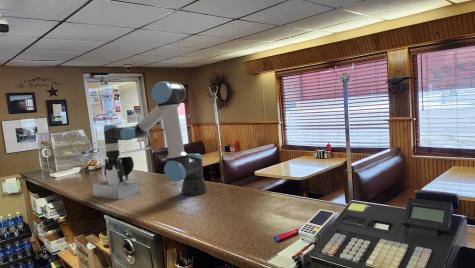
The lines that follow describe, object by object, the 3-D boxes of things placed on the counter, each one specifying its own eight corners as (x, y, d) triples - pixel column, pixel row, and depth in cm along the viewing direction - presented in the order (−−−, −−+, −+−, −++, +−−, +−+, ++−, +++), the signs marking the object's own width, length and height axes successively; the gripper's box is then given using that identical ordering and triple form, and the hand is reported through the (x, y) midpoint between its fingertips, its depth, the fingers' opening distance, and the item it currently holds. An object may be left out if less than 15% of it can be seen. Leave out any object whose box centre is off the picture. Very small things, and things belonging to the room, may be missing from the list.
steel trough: (139, 193, 198) (138, 181, 198) (119, 200, 186) (117, 187, 185) (114, 190, 212) (113, 178, 211) (93, 196, 199) (92, 184, 198)
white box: (127, 186, 203) (125, 167, 202) (120, 190, 193) (118, 170, 192) (112, 186, 204) (110, 167, 203) (104, 190, 194) (102, 170, 193)
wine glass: (132, 188, 212) (129, 158, 211) (116, 189, 213) (113, 159, 211) (137, 185, 223) (135, 156, 221) (122, 186, 223) (120, 157, 221)
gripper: (129, 149, 194) (132, 186, 196) (106, 149, 206) (110, 184, 207) (118, 151, 188) (122, 189, 189) (95, 150, 199) (99, 186, 201)
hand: (115, 186), depth 198 cm, fingers closed on white box, 9 cm apart
